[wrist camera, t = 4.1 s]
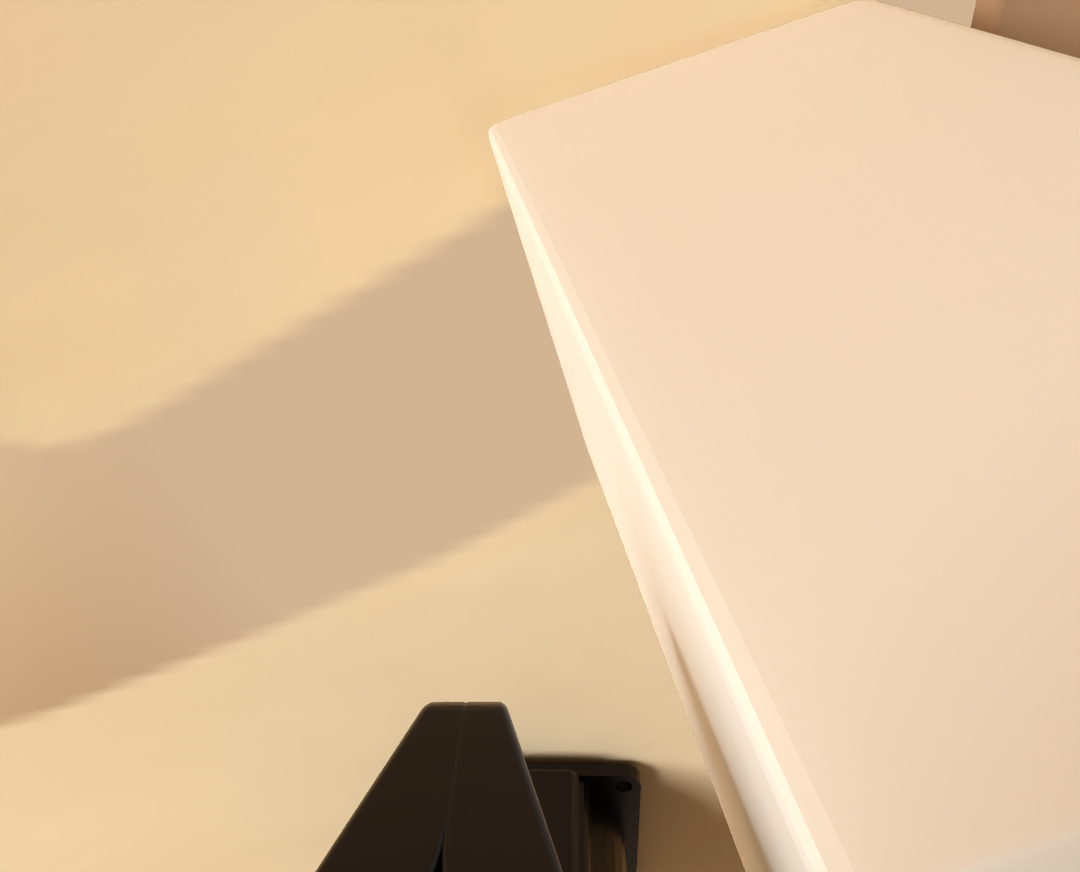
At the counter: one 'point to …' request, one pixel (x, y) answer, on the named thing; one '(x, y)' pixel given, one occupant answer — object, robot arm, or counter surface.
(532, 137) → the milk carton
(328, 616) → the counter surface
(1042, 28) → the walnut board
